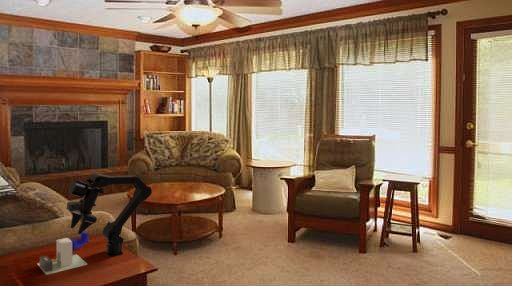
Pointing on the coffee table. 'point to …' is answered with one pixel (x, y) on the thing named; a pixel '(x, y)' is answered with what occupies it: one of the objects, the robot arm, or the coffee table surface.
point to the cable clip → (80, 241)
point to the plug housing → (64, 251)
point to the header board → (59, 264)
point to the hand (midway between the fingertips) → (75, 231)
